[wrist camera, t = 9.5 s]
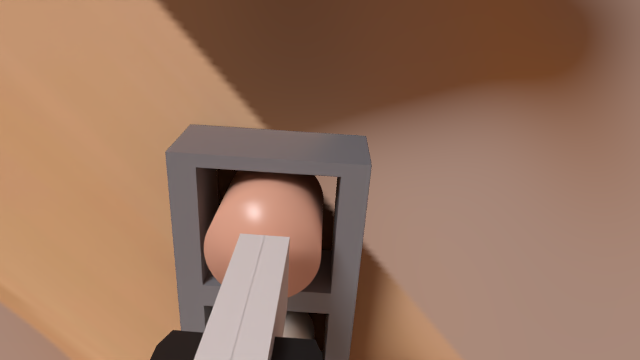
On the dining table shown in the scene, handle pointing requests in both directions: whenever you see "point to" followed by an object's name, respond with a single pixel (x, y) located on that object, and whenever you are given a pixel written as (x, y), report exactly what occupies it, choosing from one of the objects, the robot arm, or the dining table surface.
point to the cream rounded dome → (298, 325)
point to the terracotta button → (270, 221)
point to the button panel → (279, 157)
